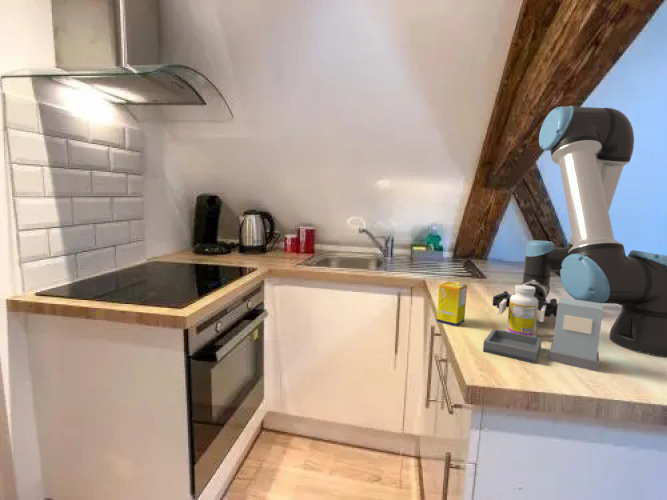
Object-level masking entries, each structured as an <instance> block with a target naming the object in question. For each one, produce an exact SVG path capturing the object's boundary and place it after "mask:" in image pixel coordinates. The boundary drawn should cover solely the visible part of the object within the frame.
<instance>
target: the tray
mask: <svg viewBox="0 0 667 500" xmlns="http://www.w3.org/2000/svg"><path fill="white" fill-rule="evenodd" d="M542 341H543V338H542V337H537V336H534V337H532V336H527V335H523V334H518V333H513V332H508V331H507V330H502V329H496V328H493V329H492V330H491V331H490V333H488V335H487V337H486V338H485V339H484V341H483V349H482V351H483V352H484V353H488V354H491V355H497V356H501V357H506V358H510V359H514V360H518V361H523V362H526V363H530V364H535V365H536V364H537V361H538V358H539V356H540V352H541V349H542Z"/></svg>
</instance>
